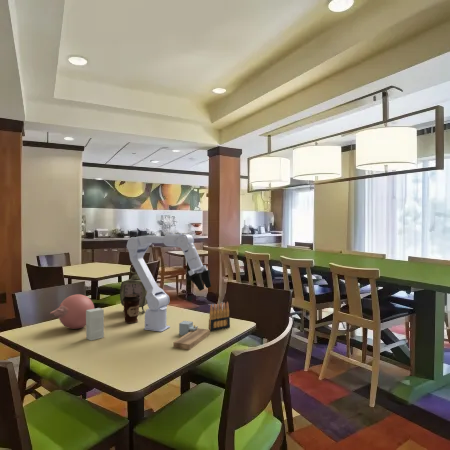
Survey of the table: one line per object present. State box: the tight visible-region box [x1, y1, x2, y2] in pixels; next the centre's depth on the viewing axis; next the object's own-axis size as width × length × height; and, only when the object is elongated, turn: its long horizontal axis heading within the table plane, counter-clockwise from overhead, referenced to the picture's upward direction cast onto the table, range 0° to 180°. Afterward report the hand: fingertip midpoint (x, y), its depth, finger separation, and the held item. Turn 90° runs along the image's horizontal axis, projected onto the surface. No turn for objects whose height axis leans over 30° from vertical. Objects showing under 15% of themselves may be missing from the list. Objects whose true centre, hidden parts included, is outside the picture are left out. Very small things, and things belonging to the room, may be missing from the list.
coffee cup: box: [123, 294, 140, 324], centre depth 173 cm, size 9×8×13 cm
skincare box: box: [85, 307, 105, 341], centre depth 148 cm, size 6×4×12 cm
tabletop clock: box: [119, 265, 147, 315], centre depth 192 cm, size 14×9×25 cm, turn 80°
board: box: [172, 327, 211, 350], centre depth 146 cm, size 7×20×2 cm, turn 160°
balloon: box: [49, 293, 95, 330], centre depth 160 cm, size 15×20×15 cm
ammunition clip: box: [208, 301, 231, 332], centre depth 162 cm, size 11×2×12 cm, turn 124°
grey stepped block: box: [178, 320, 199, 336], centre depth 154 cm, size 7×4×5 cm, turn 70°
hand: (205, 288), depth 152 cm, fingers open, 7 cm apart
